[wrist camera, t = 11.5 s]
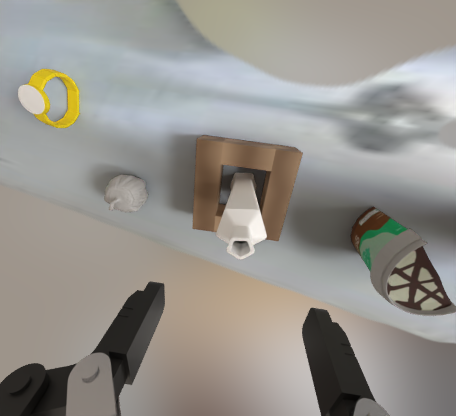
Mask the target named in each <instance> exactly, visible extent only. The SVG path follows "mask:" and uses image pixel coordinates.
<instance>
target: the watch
mask: <svg viewBox="0 0 456 416" xmlns="http://www.w3.org/2000/svg"><path fill="white" fill-rule="evenodd" d="M54 77H59V78H60V79H62V80H63V82H64V84H65V85H66V87H67V92H68V111H67V112H66V114H65V116H64V117H63V118H62V119H60V120H58V121H56V122H53V121H51V120H49V118H48V116H47V115H46V113H47V112H48V111H49V109H50V102H49V99H48V97H47V95H46V94H45V92H44V91H43V89H44V87H45V85H46V83H47V82H48V81H49V80H51V79H52V78H54ZM18 97H19V100H20V102H21V104H22V105H23V106H24V107H25V109H27V110H28V111H29V112H31V113H33V114H34V115H35V117H36V118H37V119H38V120H40V121H42V122H43V123H45V124H47V125H50V126H53V127H56V128H66V127H69V126H70V125H72V124H73V123H74V122H75V121H76V119H77V118H78V116H79V114H80V113H79V90H78V88H77V86H76V84H75V82H74V81H73V80H72V79H71V78H70V77H68V76H67V75H66V74H64V73H61V72H58V71H55V70H51V69H41V70H39V71H38V72H36V73H34V74H33V76H32V77H31V79H30V81H29V83H28V84H24V85H22V86H21V87H19V90H18Z"/></svg>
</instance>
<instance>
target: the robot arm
mask: <svg viewBox="0 0 456 416" xmlns="http://www.w3.org/2000/svg"><path fill="white" fill-rule="evenodd" d="M164 305H165V296H164V284H163V283H157V282H149V283H148V284H147V286H146V288H145V290H144V291H139V290H137V291H136V292H135V293H134V294H132V295H131V296H130V297H129V298H128V299H127V301H126V302H125V304H124V306H123V307H122V309H121V310H120V312H119V313H118V315H117V317H116V318H115V319H114V321H113V323H112V324H111V326H110V327H109V329H108V330H107V332H106V334H105V335H104V336H103V338H102V340H101V341H100V343H99V344H98V346H97V347H96V349H95V350H94V351H93V352H92V353H91V354H90V355H88V356H86V357H85V358H83V359H82V360H81V361H79V362H78V363H77V364H74V365H70V366H66V367H60V368H55V369H50V370H45V368H44V366H43V365H41V364H38V363H34V364H28V365H25V366H23V367H21V368H19V369H17V370H15V371H14V372H12V373H11V374H10V375H8V376H7V377H6V378H5V379H4V380H3V381H2V382H1V384H0V416H121V410H120V402H119V395H120V393H121V390H122V388H123V386H124V384H130V385H132V383H133V381H134V379H135V376H136V374H137V372H138V369H139V367H140V364H141V362H142V360H143V358H144V355H145V353H146V350H147V348H148V346H149V343H150V341H151V339H152V337H153V334H154V332H155V329H156V327H157V325H158V323H159V320H160V318H161V315H162V313H163V310H164ZM302 336H303V341H304V345H305V349H306V354H307V358H308V362H309V366H310V370H311V374H312V379H313V383H314V387H315V391H316V395H317V400H318V404H319V408H320V412H321V416H390V415H389V414H388V413H387V411H386V410H385V409H384V408H383V407H381V406H380V405H379V404H378V403H377V402H376V401H375V399H374V397H373V395H372V393H371V391H370V389H369V386H368V384H367V381H366V379H365V377H364V374H363V372H362V370H361V368H360V365H359V363H358V361H357V359H356V357H355V354H354V352H353V349H352V347H351V345H350V343H349V340H348V338H347V336H346V333H345V332H344V331H343V330H342V328H341V327H340V326H339V324H338V323H335V322H332V320H331V318H330V315H329V313H328V312H327V310H323V309H316V308H311V309H310V310H309V313H308V316H307V317H306V320H305V322H304V324H303V328H302Z"/></svg>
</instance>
